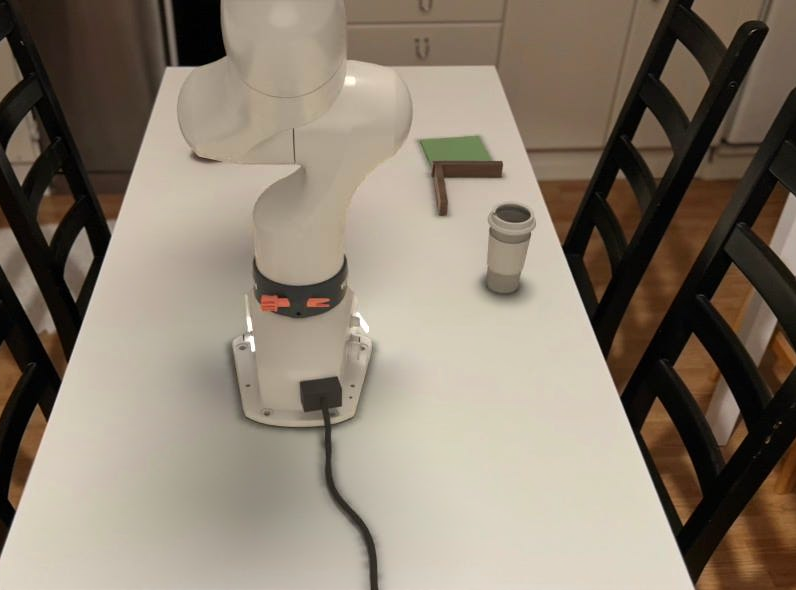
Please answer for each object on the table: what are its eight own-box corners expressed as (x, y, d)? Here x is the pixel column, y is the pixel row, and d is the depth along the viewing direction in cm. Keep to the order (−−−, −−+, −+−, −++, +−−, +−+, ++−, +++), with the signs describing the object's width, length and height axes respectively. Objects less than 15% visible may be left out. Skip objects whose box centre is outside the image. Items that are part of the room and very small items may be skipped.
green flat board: (494, 166, 160) (494, 164, 160) (432, 170, 159) (432, 169, 159) (478, 137, 168) (478, 135, 168) (419, 141, 167) (419, 139, 167)
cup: (474, 271, 137) (483, 200, 129) (518, 268, 138) (529, 198, 129) (485, 299, 132) (495, 227, 124) (530, 296, 132) (543, 225, 124)
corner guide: (511, 215, 149) (513, 201, 147) (437, 215, 149) (438, 201, 147) (500, 173, 158) (502, 160, 157) (431, 173, 158) (432, 160, 157)
